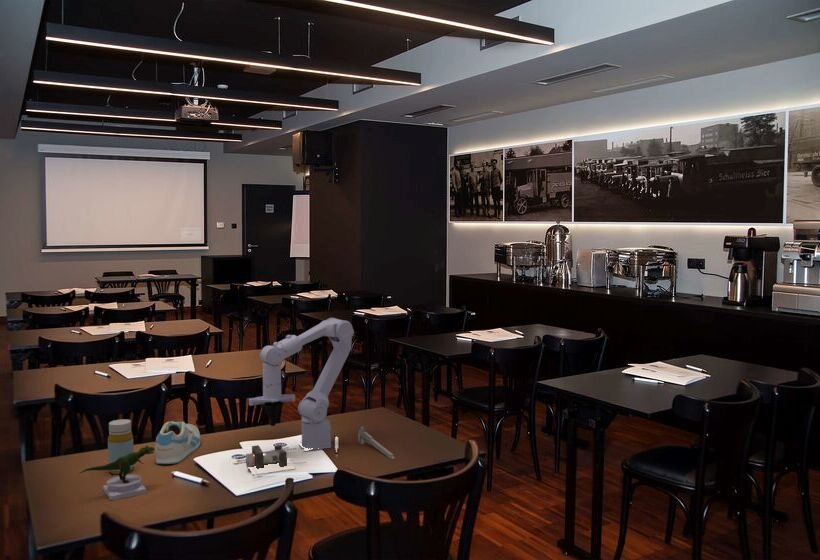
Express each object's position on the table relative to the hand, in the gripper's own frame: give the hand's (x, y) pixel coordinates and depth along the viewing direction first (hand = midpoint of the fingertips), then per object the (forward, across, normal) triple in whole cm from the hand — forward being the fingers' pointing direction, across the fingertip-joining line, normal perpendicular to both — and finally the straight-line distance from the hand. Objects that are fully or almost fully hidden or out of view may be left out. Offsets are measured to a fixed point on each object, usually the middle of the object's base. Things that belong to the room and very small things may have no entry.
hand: (272, 425), depth 218 cm
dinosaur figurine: (+10, -46, -14) cm, 49 cm away
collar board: (+10, -3, -11) cm, 15 cm away
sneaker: (+10, -28, +16) cm, 34 cm away
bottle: (+10, -45, +4) cm, 46 cm away
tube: (+9, -5, -11) cm, 15 cm away
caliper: (+10, +32, -9) cm, 35 cm away
